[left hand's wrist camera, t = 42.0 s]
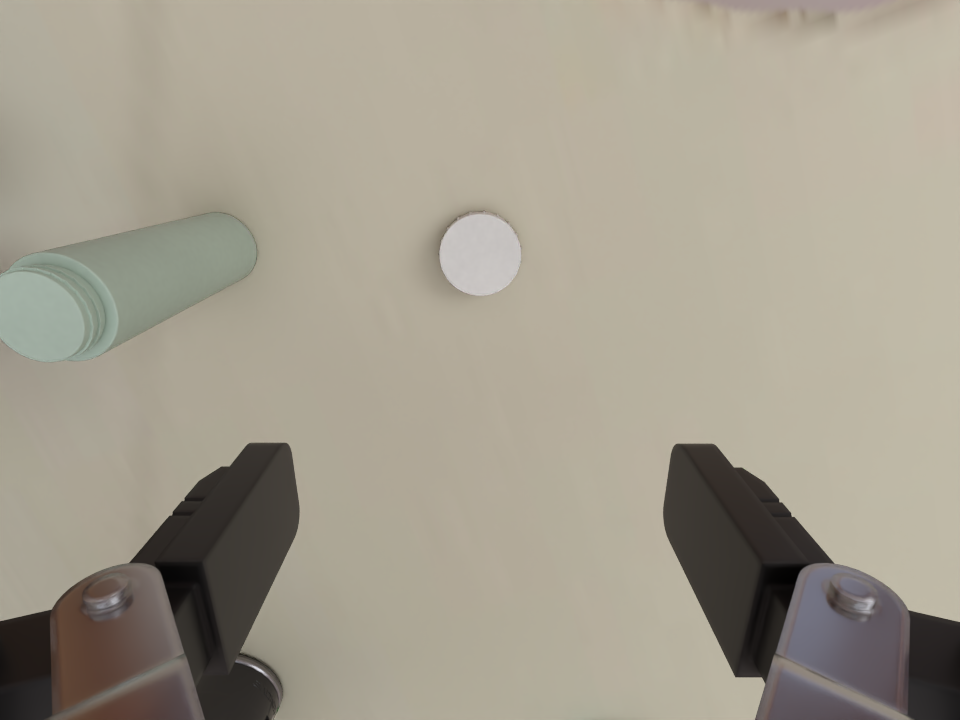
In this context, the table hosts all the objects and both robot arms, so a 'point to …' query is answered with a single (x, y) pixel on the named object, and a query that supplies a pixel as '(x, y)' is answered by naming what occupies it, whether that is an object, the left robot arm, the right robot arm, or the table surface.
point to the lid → (480, 253)
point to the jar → (118, 285)
